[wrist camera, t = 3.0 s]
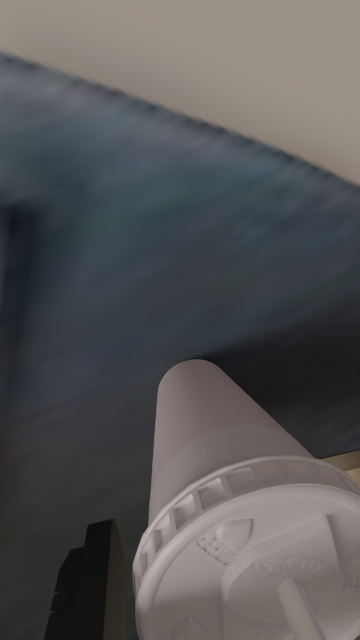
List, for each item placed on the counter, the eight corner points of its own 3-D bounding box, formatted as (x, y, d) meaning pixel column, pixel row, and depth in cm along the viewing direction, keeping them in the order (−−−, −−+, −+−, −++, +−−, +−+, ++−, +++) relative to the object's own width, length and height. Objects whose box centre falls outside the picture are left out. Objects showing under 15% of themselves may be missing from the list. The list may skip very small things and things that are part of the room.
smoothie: (275, 360, 17) (833, 875, 3) (219, 460, 18) (477, 1123, 5) (162, 313, 15) (402, 938, 2) (110, 426, 16) (30, 1287, 3)
